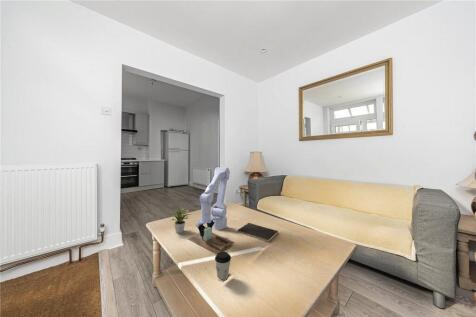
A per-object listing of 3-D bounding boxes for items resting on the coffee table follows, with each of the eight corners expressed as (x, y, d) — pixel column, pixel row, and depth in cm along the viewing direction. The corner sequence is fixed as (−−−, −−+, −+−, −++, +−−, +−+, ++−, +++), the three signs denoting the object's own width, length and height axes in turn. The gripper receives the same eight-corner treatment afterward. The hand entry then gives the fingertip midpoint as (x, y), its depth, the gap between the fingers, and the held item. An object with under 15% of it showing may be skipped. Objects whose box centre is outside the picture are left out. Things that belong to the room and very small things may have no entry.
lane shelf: (207, 231, 116) (207, 228, 116) (235, 244, 100) (235, 240, 100) (187, 240, 103) (187, 236, 103) (216, 256, 88) (216, 251, 88)
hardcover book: (268, 243, 103) (268, 239, 103) (237, 233, 116) (237, 229, 116) (277, 233, 117) (277, 230, 116) (249, 225, 130) (249, 222, 129)
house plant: (174, 239, 104) (175, 213, 104) (163, 233, 113) (163, 208, 112) (193, 231, 116) (194, 207, 115) (181, 226, 124) (182, 204, 124)
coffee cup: (230, 272, 76) (231, 250, 76) (230, 283, 69) (231, 259, 69) (215, 272, 76) (215, 250, 76) (213, 283, 69) (214, 259, 69)
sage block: (205, 235, 109) (205, 224, 109) (212, 238, 105) (212, 227, 105) (199, 238, 105) (199, 227, 105) (205, 241, 101) (205, 229, 101)
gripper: (201, 217, 96) (200, 241, 97) (218, 211, 108) (218, 232, 108) (193, 214, 101) (192, 237, 101) (211, 209, 112) (210, 229, 112)
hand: (205, 234), depth 105 cm, fingers closed on sage block, 5 cm apart
